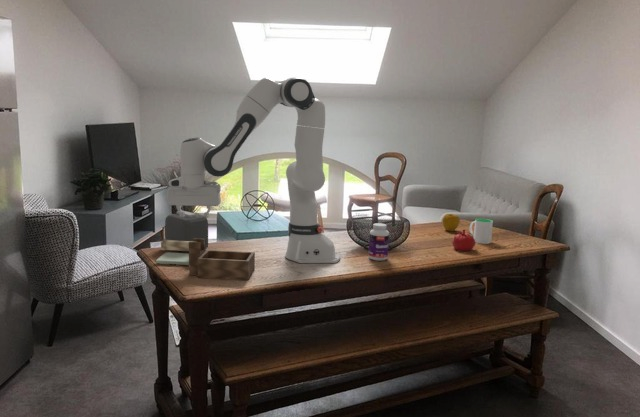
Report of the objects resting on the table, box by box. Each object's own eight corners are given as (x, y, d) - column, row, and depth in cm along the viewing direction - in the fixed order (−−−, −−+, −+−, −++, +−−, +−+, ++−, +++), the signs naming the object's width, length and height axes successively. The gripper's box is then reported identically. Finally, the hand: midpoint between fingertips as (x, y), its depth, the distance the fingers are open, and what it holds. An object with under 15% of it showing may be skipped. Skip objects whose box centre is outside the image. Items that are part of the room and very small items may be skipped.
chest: (254, 270, 200) (254, 239, 198) (248, 280, 188) (248, 247, 186) (196, 267, 201) (196, 236, 199) (186, 277, 190) (186, 244, 187)
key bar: (197, 249, 196) (197, 241, 195) (194, 251, 192) (194, 243, 192) (164, 247, 196) (164, 239, 196) (161, 250, 193) (161, 242, 192)
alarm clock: (208, 250, 225) (208, 214, 223) (185, 255, 217) (184, 217, 214) (185, 243, 236) (185, 208, 233) (163, 247, 228) (162, 211, 225)
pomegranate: (479, 251, 239) (481, 231, 237) (463, 253, 234) (465, 232, 232) (462, 245, 247) (464, 226, 246) (446, 247, 242) (448, 227, 240)
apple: (460, 229, 280) (461, 213, 278) (457, 233, 272) (458, 216, 271) (443, 228, 283) (444, 211, 282) (440, 231, 276) (441, 214, 274)
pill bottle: (375, 262, 216) (376, 227, 213) (364, 257, 223) (366, 223, 220) (391, 260, 220) (393, 225, 217) (380, 255, 227) (382, 221, 224)
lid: (209, 259, 214) (209, 243, 213) (201, 267, 203) (201, 251, 201) (166, 257, 215) (165, 241, 213) (155, 265, 204) (155, 248, 202)
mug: (463, 239, 260) (465, 218, 258) (473, 237, 265) (475, 216, 263) (483, 244, 251) (485, 222, 249) (494, 242, 255) (496, 221, 253)
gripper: (222, 180, 205) (223, 215, 208) (169, 179, 206) (171, 214, 209) (218, 182, 199) (219, 219, 202) (164, 181, 200) (165, 218, 203)
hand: (194, 216), depth 205 cm, fingers open, 8 cm apart
